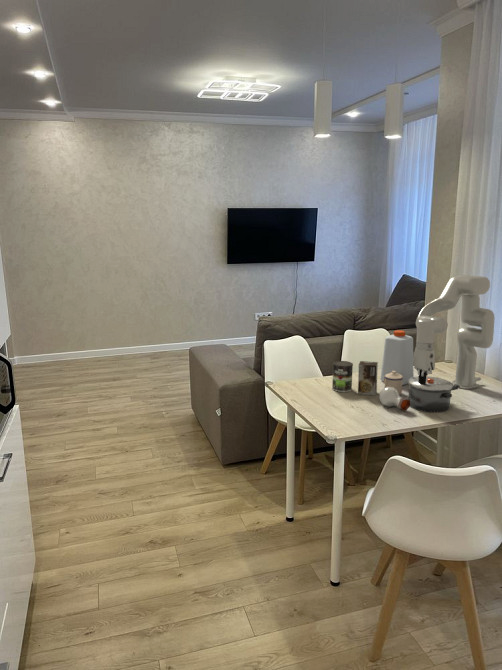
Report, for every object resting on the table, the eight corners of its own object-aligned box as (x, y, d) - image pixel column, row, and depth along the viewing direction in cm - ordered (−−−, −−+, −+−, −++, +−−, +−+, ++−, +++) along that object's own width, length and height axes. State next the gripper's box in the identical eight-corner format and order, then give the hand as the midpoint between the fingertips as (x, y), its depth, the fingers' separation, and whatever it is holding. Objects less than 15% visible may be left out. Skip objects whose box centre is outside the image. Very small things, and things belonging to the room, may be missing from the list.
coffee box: (376, 392, 272) (378, 362, 268) (375, 396, 266) (377, 365, 262) (359, 390, 275) (360, 360, 271) (357, 394, 269) (358, 363, 265)
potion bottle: (381, 404, 258) (405, 417, 246) (371, 397, 252) (396, 409, 240) (391, 388, 258) (415, 400, 247) (381, 380, 252) (406, 392, 241)
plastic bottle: (391, 375, 300) (394, 327, 294) (416, 380, 290) (419, 331, 284) (377, 381, 290) (379, 331, 284) (402, 387, 279) (405, 335, 273)
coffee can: (349, 393, 270) (350, 366, 267) (330, 391, 274) (330, 364, 271) (353, 387, 280) (354, 361, 277) (334, 385, 284) (335, 359, 280)
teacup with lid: (405, 394, 268) (407, 372, 265) (391, 397, 264) (392, 374, 262) (391, 387, 279) (392, 366, 276) (376, 390, 275) (377, 368, 273)
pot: (429, 394, 268) (430, 374, 266) (466, 409, 246) (468, 388, 244) (395, 400, 260) (397, 379, 258) (431, 417, 238) (433, 394, 235)
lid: (431, 376, 263) (431, 371, 263) (462, 388, 245) (462, 382, 245) (399, 381, 255) (399, 375, 255) (428, 393, 237) (429, 387, 237)
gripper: (442, 348, 239) (439, 386, 243) (419, 341, 252) (417, 378, 256) (429, 350, 236) (427, 389, 240) (407, 343, 249) (405, 380, 253)
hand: (422, 383), depth 248 cm, fingers closed
